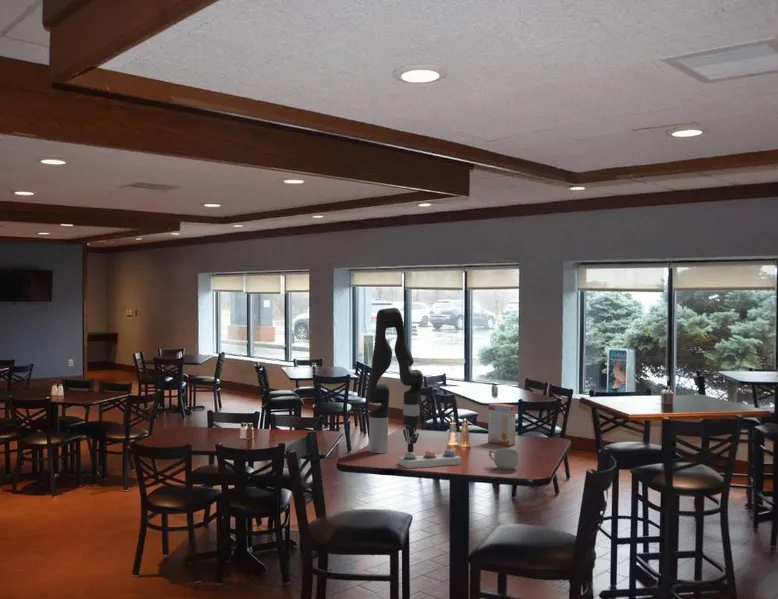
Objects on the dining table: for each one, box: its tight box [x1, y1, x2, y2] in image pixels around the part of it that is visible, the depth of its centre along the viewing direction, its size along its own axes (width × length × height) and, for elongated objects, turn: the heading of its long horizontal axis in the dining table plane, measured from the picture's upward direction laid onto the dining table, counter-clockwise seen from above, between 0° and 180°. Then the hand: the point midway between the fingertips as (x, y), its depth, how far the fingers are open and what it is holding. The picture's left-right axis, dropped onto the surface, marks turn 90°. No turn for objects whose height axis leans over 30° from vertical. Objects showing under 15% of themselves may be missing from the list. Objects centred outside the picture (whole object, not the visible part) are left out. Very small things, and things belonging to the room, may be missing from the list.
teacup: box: [488, 448, 519, 471], centre depth 338 cm, size 14×11×8 cm
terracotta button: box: [424, 450, 436, 457], centre depth 344 cm, size 4×4×2 cm
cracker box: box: [487, 402, 517, 447], centre depth 399 cm, size 14×6×21 cm, turn 44°
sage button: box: [404, 451, 416, 458], centre depth 340 cm, size 4×4×2 cm
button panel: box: [398, 453, 462, 469], centre depth 344 cm, size 10×27×4 cm, turn 112°
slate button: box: [444, 449, 455, 456], centre depth 348 cm, size 4×4×2 cm
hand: (410, 452), depth 341 cm, fingers closed
